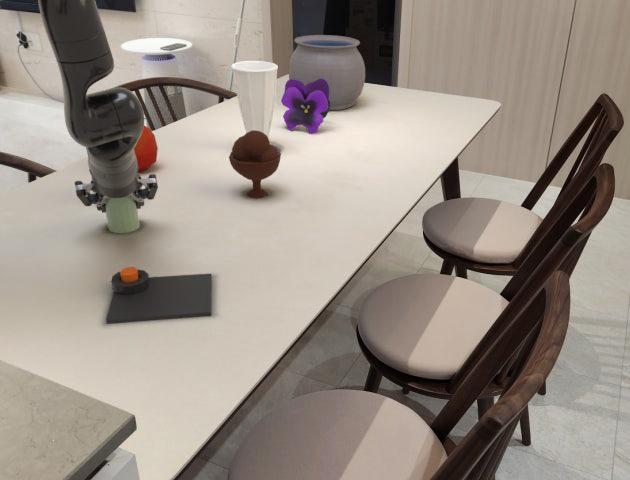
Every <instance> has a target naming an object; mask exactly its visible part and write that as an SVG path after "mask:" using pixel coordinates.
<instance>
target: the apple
mask: <svg viewBox="0 0 630 480" xmlns="http://www.w3.org/2000/svg"><path fill="white" fill-rule="evenodd" d="M134 152H135V155H136V158H137V165H138V172H142V171H146V170H148V169H149V168H150V167H152V166H153V165H154V164H155V163H156V162H157V157H158V144H157V140H156V135H155V134H154V133H153V132H152V130H151V129H150V128H149V127H147V126H146V125H144V127H143V131H142V134H141V136H140V138H139V140H138V142H137V144H136V146H135V148H134Z"/></svg>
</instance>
